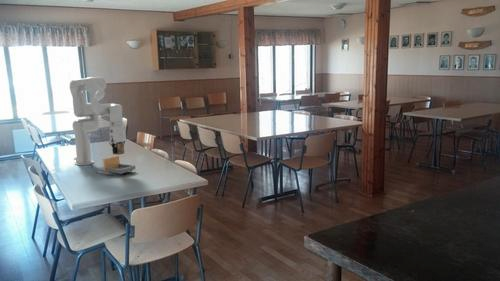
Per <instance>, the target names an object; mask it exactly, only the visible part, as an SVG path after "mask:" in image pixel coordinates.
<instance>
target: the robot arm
mask: <svg viewBox="0 0 500 281" xmlns="http://www.w3.org/2000/svg"><path fill="white" fill-rule="evenodd" d="M107 85H108V84H107V81H106V79H105V78H104V77H102V76H89V77H86V78H75V79H72V80H71V81H70V83H69V91H70V94H71V98H72V106H73V108H72V109H73V114H74V116H75V117H77V118H79V119H76V120H74V121H73V122H72V129H73V130H72V131H73V133H74V139H75V140H74V142H75V152H76V154H75V155H76V156H75V157H74V158H73V160H74V161H75V162H74V165H76V166H86V165H87V166H88V165H89V166H90V165H93V164H94V163H95V161H94V160H93V159H92V151H91V149H92V148H91V139H90V135H88V133H92V132H96V131H98V130H99V127H100V121H99V117H105V116H107V117H108V116H109V125H110V127H109V140H108V144H109V145H110V146H111V148H112V147H113V150H112V154H113V153H116V154H117V147H116V146H117V143H118V142H124V144H125V143H126V141H127V134H126V130H125V129H126V128H125V125H124V120H123V107H122V105H121V104H119V103H117V104H116V103H114V102H113V103H112V102H110V103H109V102H108V103H99V101H100V100H102V99H104V97H105V96H106V92H105V89H106V88H107ZM84 92H88V94H89V95H90V96H91V98H90V102H87V97H86V95H85V93H84ZM85 117H87V118H85ZM114 143H115V145H114ZM116 154H115V155H116Z"/></svg>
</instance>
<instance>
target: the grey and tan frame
mask: <svg viewBox="0 0 500 281" xmlns="http://www.w3.org/2000/svg"><path fill="white" fill-rule="evenodd" d="M102 163H103V172H105V173H113V174H120V175H124V173H128V171H132V172H133V170H136V165H135V164H134V165H133V164H127V163H126V164H125V163H120V155H114V156H109V157H105V158H103V162H102Z"/></svg>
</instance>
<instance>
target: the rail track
mask: <svg viewBox="0 0 500 281" xmlns="http://www.w3.org/2000/svg"><path fill="white" fill-rule="evenodd" d="M127 173H129V174H136V173H137V172H136V171H133V170H132V171H128V172H127ZM96 174H102V175H109V176H115V177H127V175H126V174H122V175H120V174H119V173H109V172H104V171H96Z"/></svg>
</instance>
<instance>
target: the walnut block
mask: <svg viewBox="0 0 500 281" xmlns="http://www.w3.org/2000/svg"><path fill="white" fill-rule="evenodd" d="M114 145H115V143H114ZM116 147H117V154H116V153H113V152H112V155H115V156H117V155H119V156H120V155H123V154H125V143H124V142H118V143H117V146H116ZM111 148H112V149H111V150H112V151H113V147H112V146H111Z"/></svg>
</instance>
